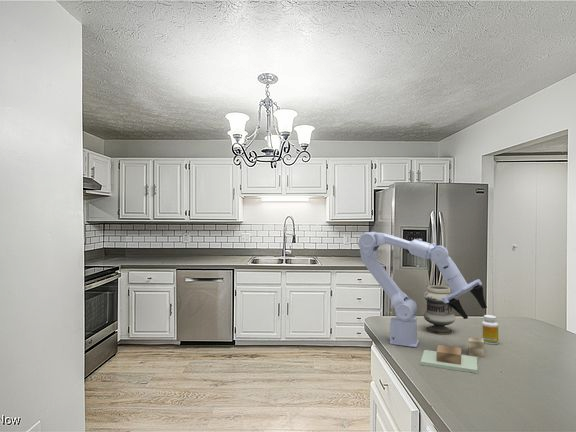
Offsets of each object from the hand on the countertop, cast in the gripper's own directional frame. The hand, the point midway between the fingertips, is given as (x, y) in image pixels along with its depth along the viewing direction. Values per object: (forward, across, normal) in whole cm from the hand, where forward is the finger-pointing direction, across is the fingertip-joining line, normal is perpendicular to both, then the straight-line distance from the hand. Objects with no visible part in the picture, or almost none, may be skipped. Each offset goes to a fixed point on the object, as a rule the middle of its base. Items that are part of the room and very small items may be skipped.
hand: (475, 313), depth 130 cm
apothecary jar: (+5, -5, +29) cm, 30 cm away
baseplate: (+8, -18, -4) cm, 20 cm away
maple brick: (+12, -6, +3) cm, 14 cm away
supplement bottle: (+14, +5, +15) cm, 21 cm away
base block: (+8, -18, -4) cm, 20 cm away
